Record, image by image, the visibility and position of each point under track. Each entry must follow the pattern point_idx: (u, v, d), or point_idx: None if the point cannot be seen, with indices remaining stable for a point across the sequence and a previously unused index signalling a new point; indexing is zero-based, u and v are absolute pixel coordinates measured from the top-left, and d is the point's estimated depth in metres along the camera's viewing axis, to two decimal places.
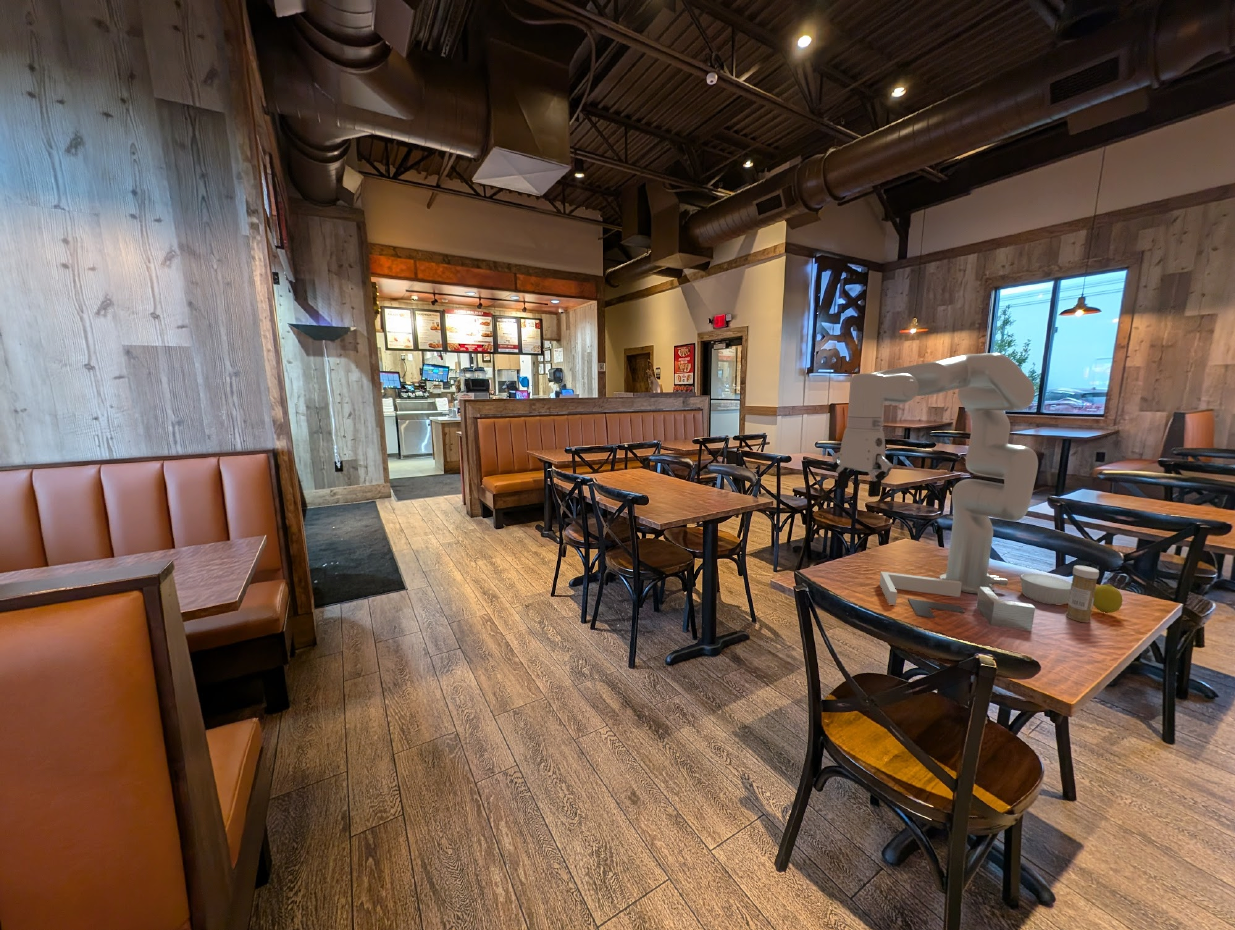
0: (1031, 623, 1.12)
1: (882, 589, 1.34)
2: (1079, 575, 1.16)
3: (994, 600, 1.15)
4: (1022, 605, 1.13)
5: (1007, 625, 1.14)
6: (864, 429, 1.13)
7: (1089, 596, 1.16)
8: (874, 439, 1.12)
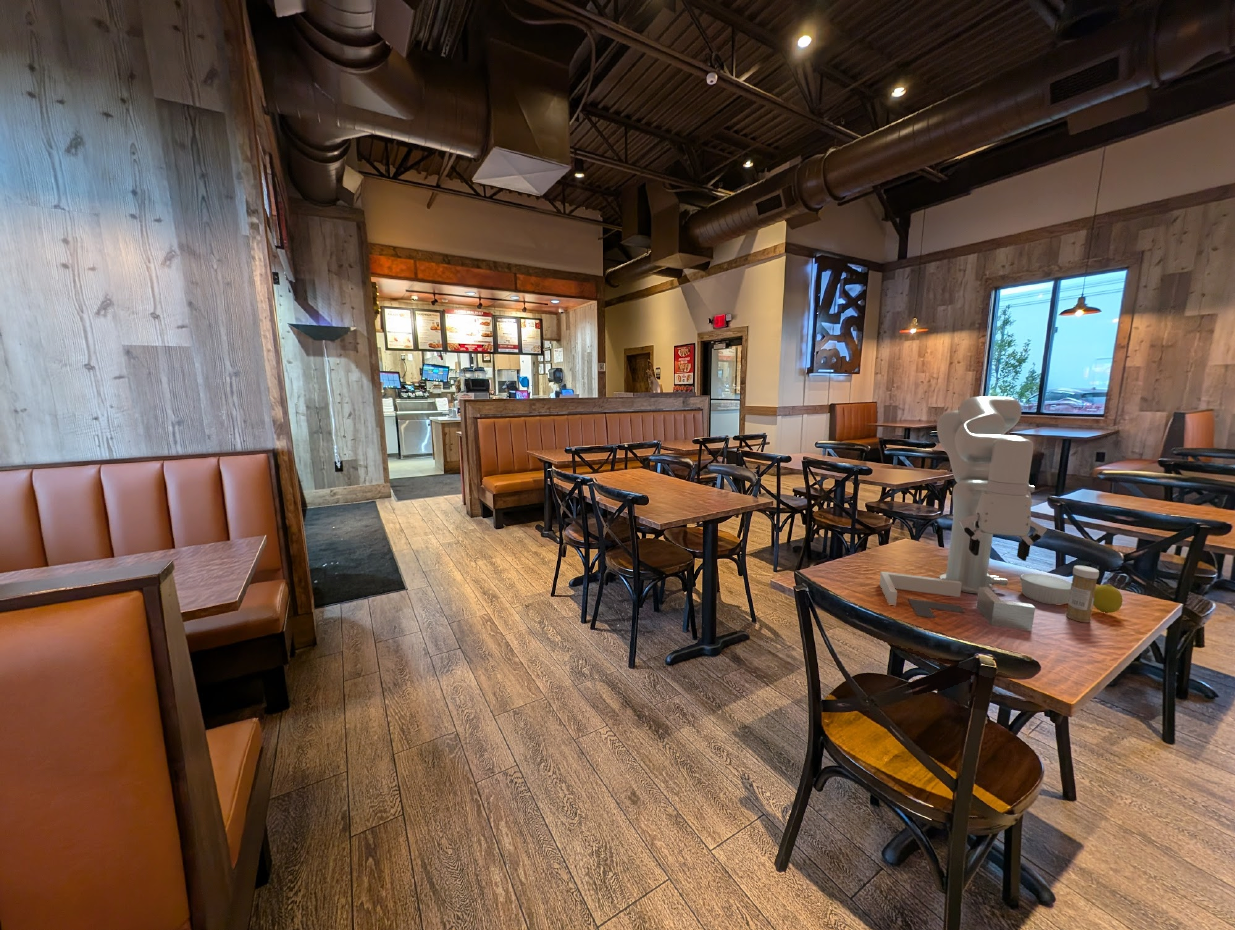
0: (1031, 623, 1.12)
1: (882, 589, 1.34)
2: (1079, 575, 1.16)
3: (994, 600, 1.15)
4: (1022, 605, 1.13)
5: (1007, 625, 1.14)
6: (1024, 495, 1.11)
7: (1089, 596, 1.16)
8: (1030, 504, 1.12)
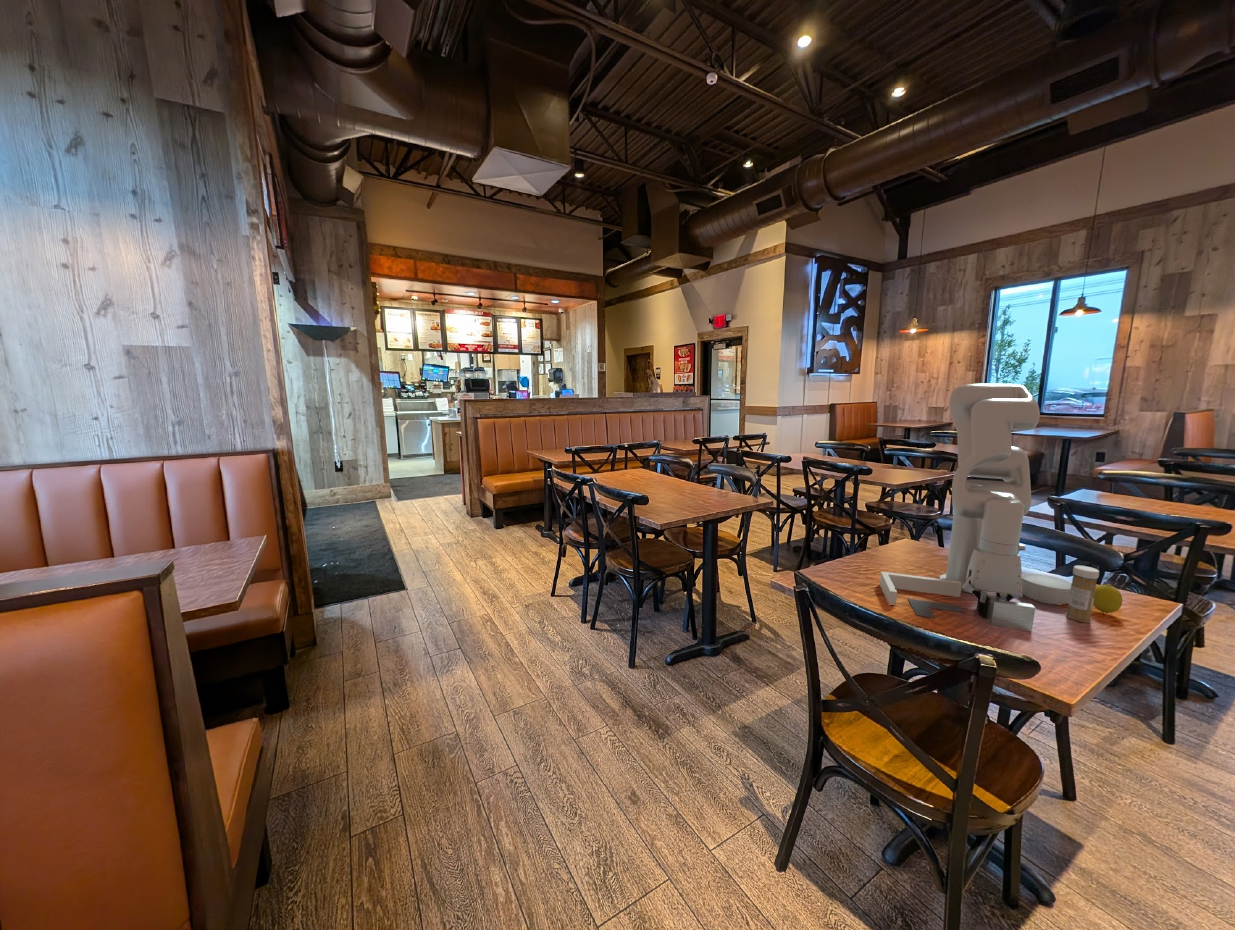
0: (1031, 623, 1.12)
1: (882, 589, 1.34)
2: (1079, 575, 1.16)
3: (994, 600, 1.15)
4: (1022, 605, 1.13)
5: (1007, 625, 1.14)
6: (1015, 555, 1.13)
7: (1089, 596, 1.16)
8: None
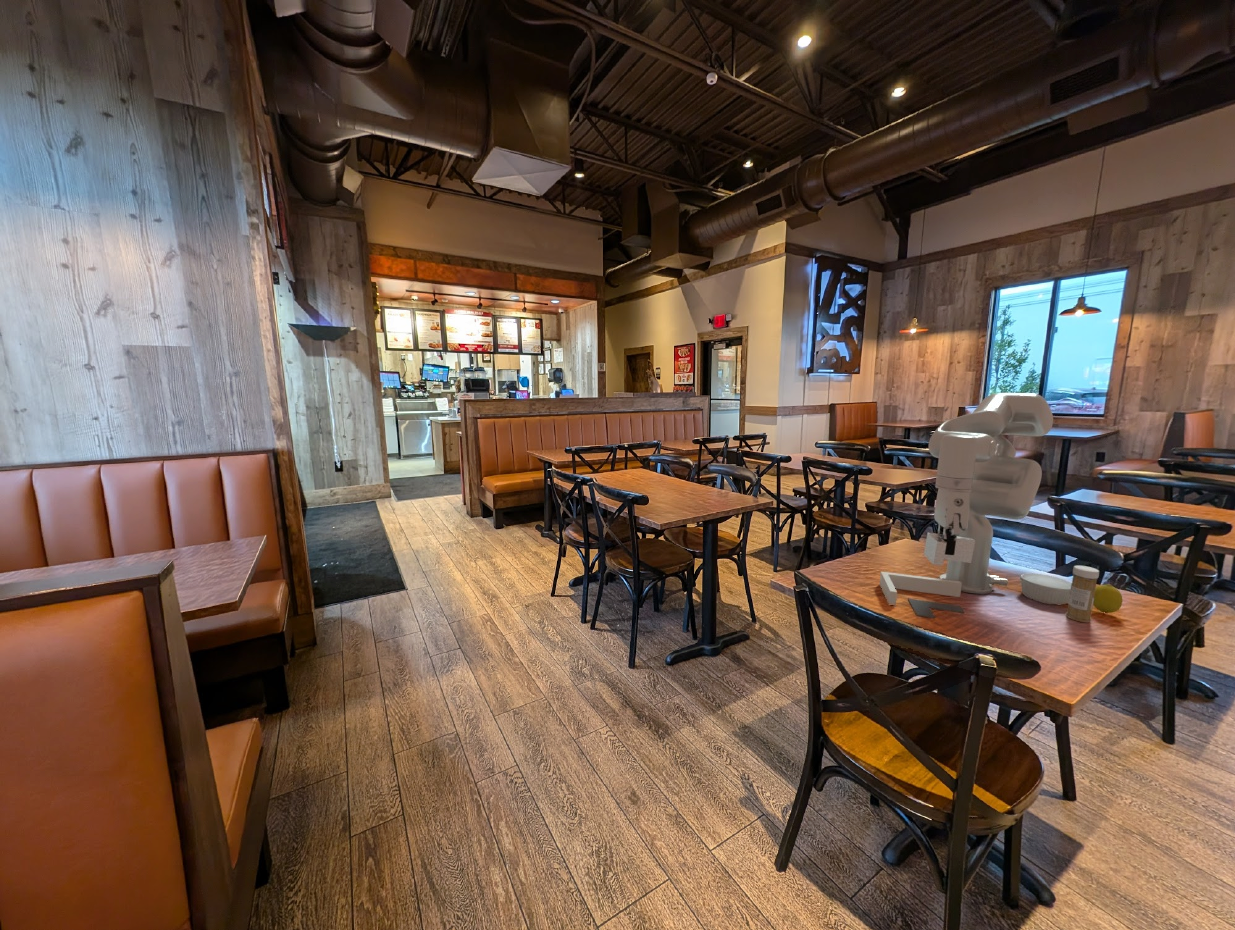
0: (934, 556, 1.17)
1: (882, 589, 1.34)
2: (1079, 575, 1.16)
3: (933, 533, 1.23)
4: (935, 538, 1.18)
5: (927, 556, 1.22)
6: (944, 488, 1.18)
7: (1089, 596, 1.16)
8: (952, 499, 1.16)
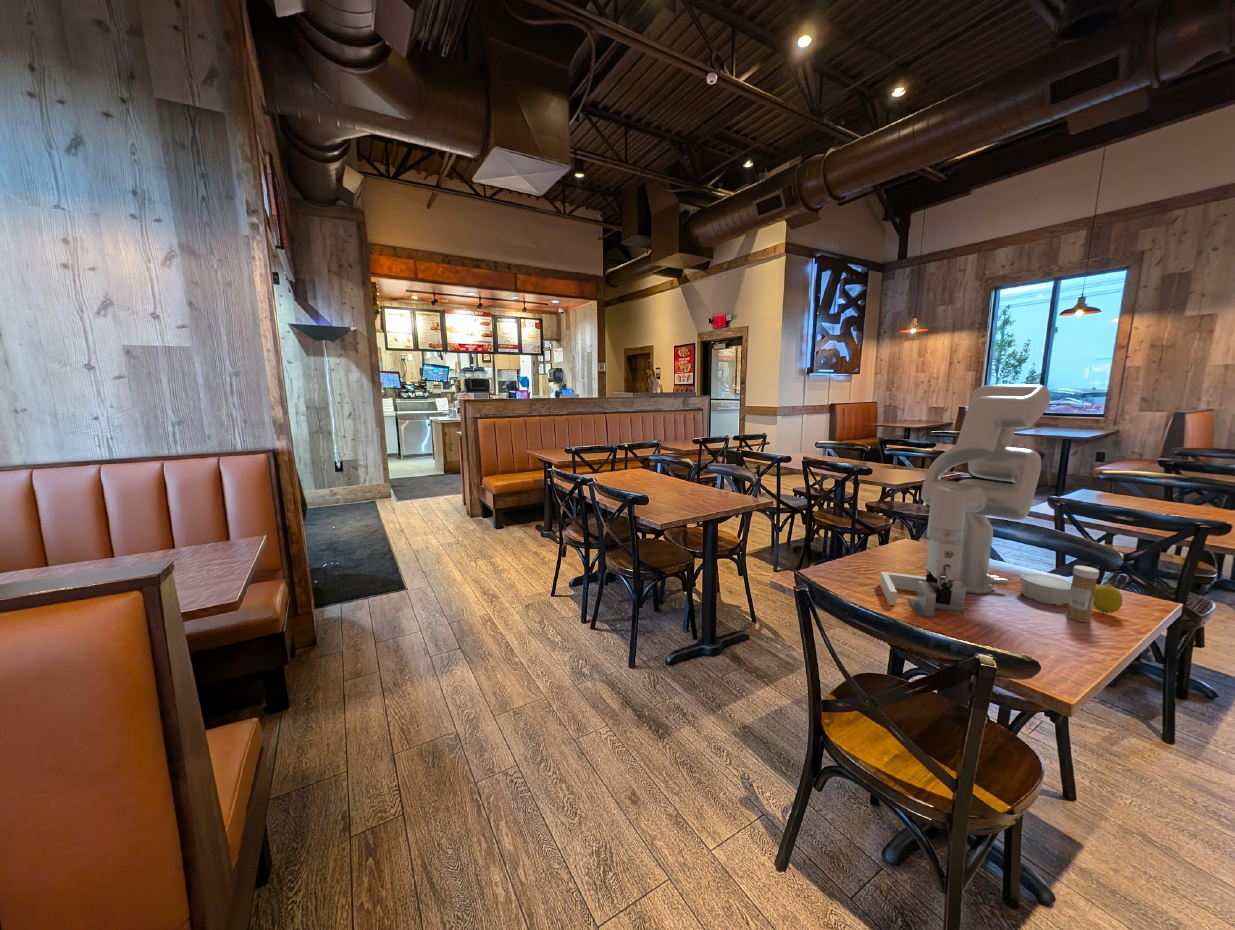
0: (924, 607, 1.19)
1: (882, 589, 1.34)
2: (1079, 575, 1.16)
3: (924, 582, 1.25)
4: (925, 589, 1.21)
5: (919, 605, 1.24)
6: (935, 539, 1.21)
7: (1089, 596, 1.16)
8: (942, 550, 1.19)
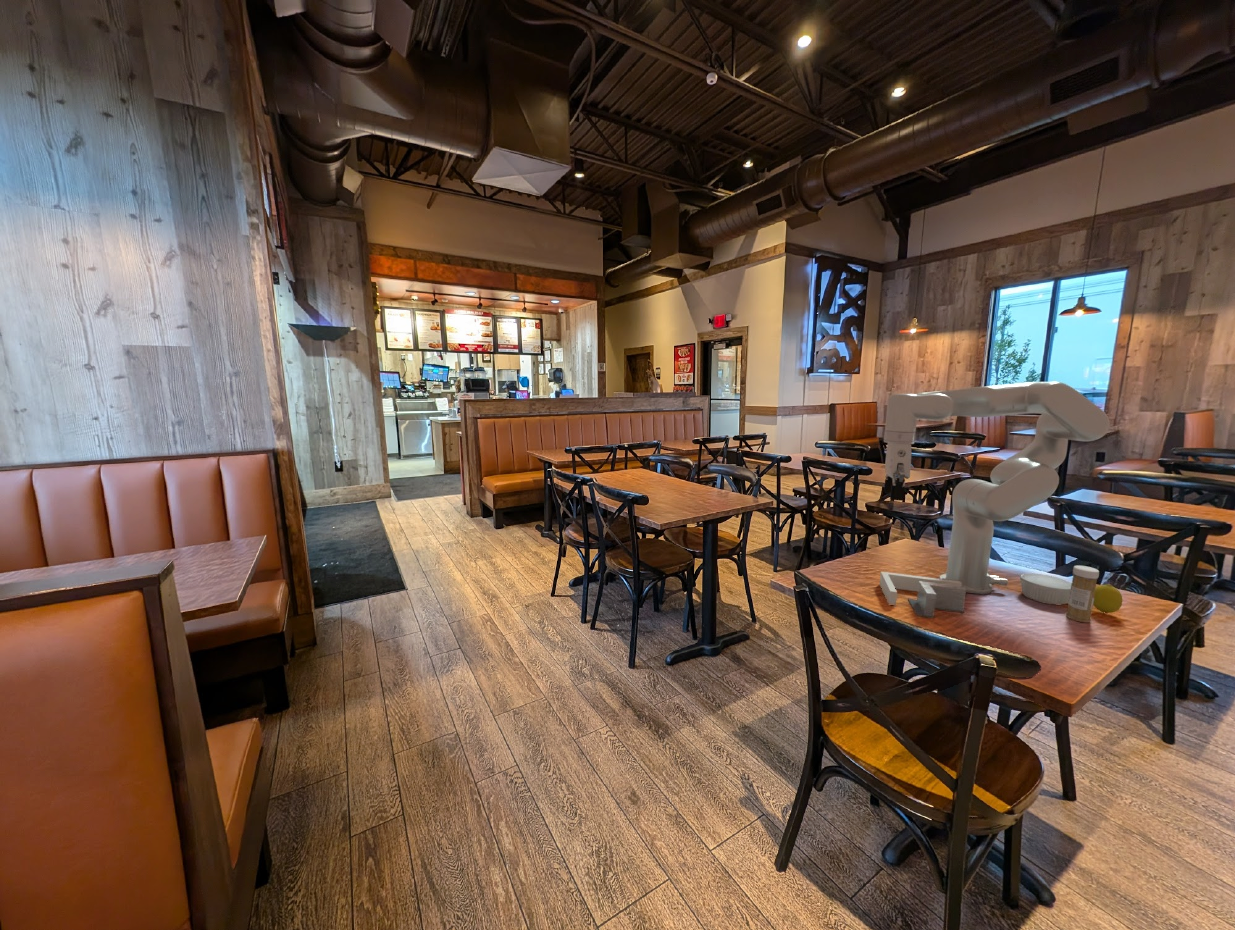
0: (924, 607, 1.19)
1: (882, 589, 1.34)
2: (1079, 575, 1.16)
3: (924, 582, 1.25)
4: (925, 589, 1.21)
5: (919, 605, 1.24)
6: (890, 441, 1.32)
7: (1089, 596, 1.16)
8: (896, 450, 1.30)
